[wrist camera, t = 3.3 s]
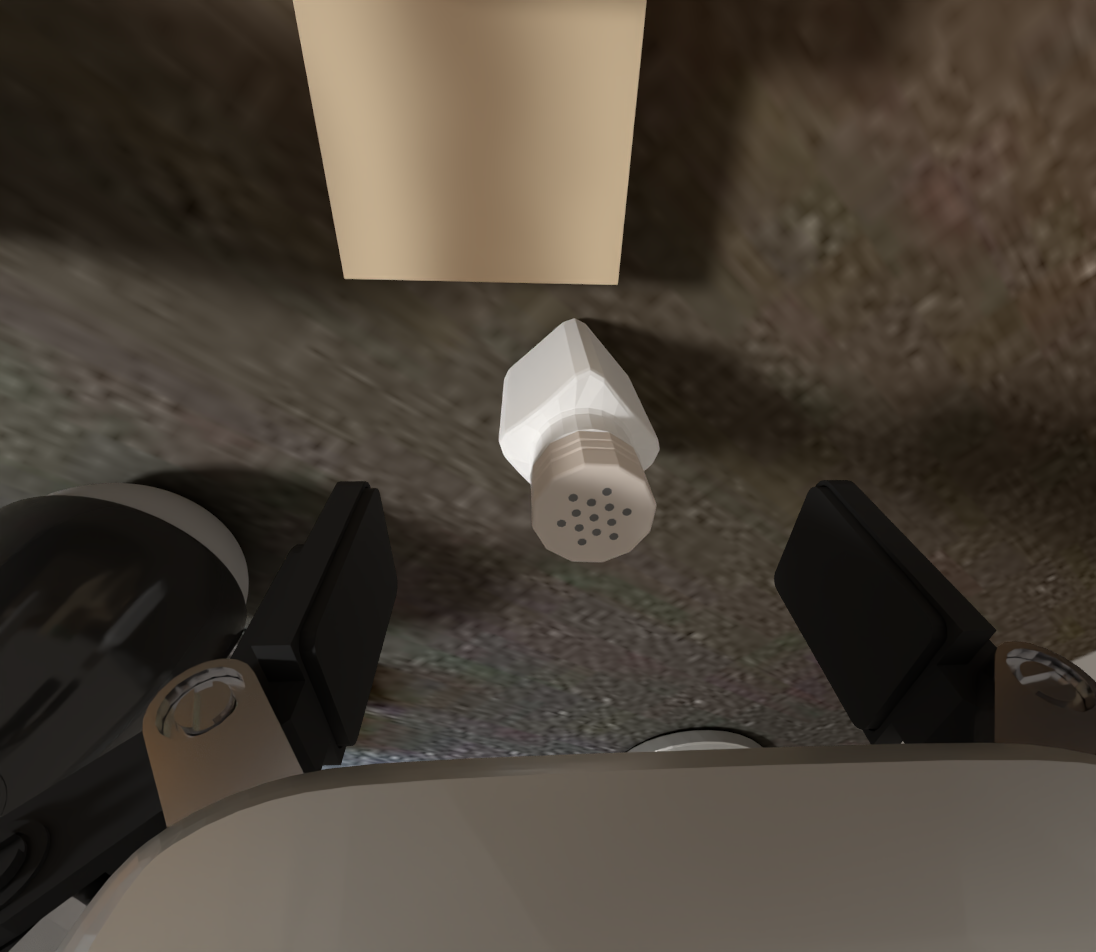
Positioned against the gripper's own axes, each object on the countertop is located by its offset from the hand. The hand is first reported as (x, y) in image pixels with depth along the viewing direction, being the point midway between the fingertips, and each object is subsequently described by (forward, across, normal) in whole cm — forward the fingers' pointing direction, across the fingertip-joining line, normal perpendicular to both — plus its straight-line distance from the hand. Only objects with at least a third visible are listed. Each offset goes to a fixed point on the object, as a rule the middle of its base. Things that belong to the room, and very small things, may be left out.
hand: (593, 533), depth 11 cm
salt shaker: (+11, 0, +1) cm, 11 cm away
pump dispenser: (+11, +19, +10) cm, 24 cm away
